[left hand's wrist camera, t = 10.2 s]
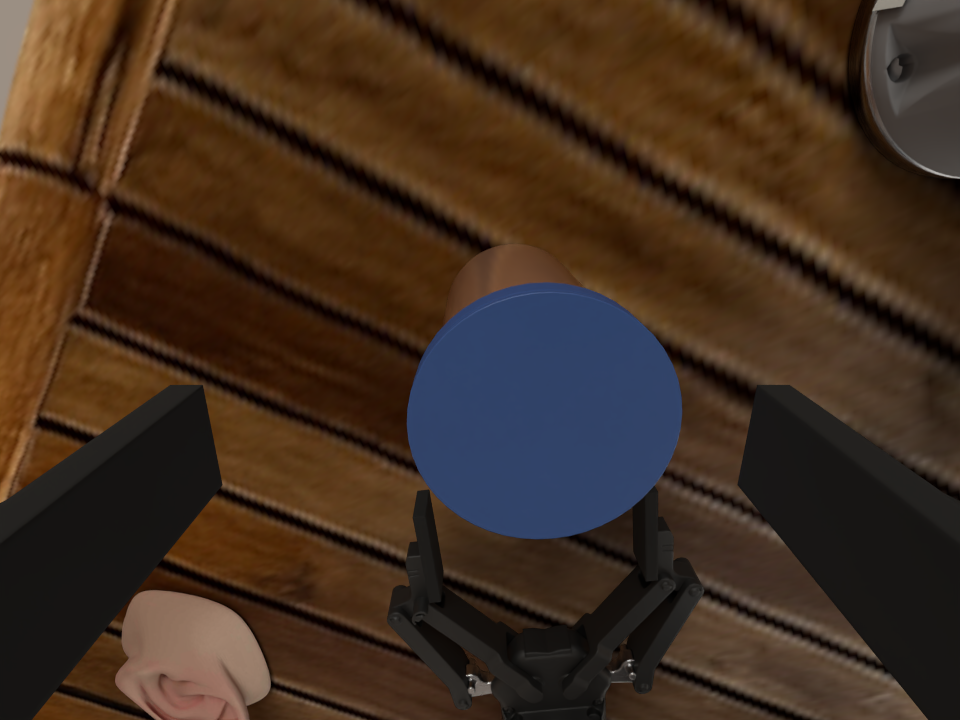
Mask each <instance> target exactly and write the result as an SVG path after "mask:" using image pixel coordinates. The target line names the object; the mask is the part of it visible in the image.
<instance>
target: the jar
mask: <svg viewBox="0 0 960 720" xmlns="http://www.w3.org/2000/svg"><path fill="white" fill-rule="evenodd" d="M544 282H550V283H562V284H569V285H574V286H578V287H583V286H582V285H581V283H580V282H579V281H578V280H577V279H576V278H575V277H574V276H573V275H572V274H571V273H570V271H569V270H568V269H567V268H566V267H565V266H564V265H563V264H562V263H561V262H560V261H559V260H558V259H557V258H555V257H554V256H552V255H551V254H549V253H548V252H546V251H544V250H542V249H539V248H536V247H533V246H529V245H523V244H506V245H501V246H496V247H493V248H490V249H488V250H486V251H484V252H481V253H480V254H478V255H477V256H475V257H474V258H472V259H471V260H470V261H469V262H468V263H467V264H466V265H465V266H464V267H463V268H462V269H461V270H460V272H459V273H458V275H457V276H456V278H455V280H454V282H453V284H452V286H451V289H450V292H449V295H448V300H447V305H446V310H445V315H444V320H443V325H442V327H443V326H444V325H445V324H446V323H447V322H448V321H449V320H450V319H451V318H452V317H454V316H455V315H456V314H457V313H458V312H460V311H461V310H462V309H463V308H465V307H467V306H468V305H470V304H471V303H473V302H474V301H476V300H478V299H480V298H482V297H484V296H486V295H488V294H491V293H493V292H495V291H499V290H502V289H505V288H508V287H511V286H517V285H522V284H528V283H544ZM583 288H584V287H583Z"/></svg>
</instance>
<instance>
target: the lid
mask: <svg viewBox="0 0 960 720" xmlns="http://www.w3.org/2000/svg"><path fill="white" fill-rule="evenodd" d="M681 419H682V399H681V392H680V387H679V382H678V378H677V375H676V373H675V370H674V367H673V364H672V362H671V361H670V359H669V357H668V355H667V353H666V351H665V350H664V348H663V347H662V346H661V344H660V343H659V342H658V340H657V339H656V338H655V336H654V335H653V334H652V333H651V332H650V331H649V330H648V329H647V328H646V327H645V326H644V325H643V324H642V323H641V322H639V321H638V320H637V319H636V318H635V317H634V316H633V315H632V314H631V313H630V312H629V311H627V310H626V309H625V308H623V307H622V306H620V305H619V304H618V303H616V302H615V301H613V300H611V299H609V298H607V297H605V296H603V295H601V294H599V293H597V292H594V291H591V290H588V289H586V288H583V287H578V286H574V285H569V284H562V283H550V282H544V283H528V284H522V285H517V286H511V287H508V288H505V289H502V290H499V291H495V292H493V293H491V294H488V295H486V296H484V297H482V298H480V299H478V300H476V301H474V302H473V303H471V304H470V305H468V306H467V307H465V308H463V309H462V310H461V311H460V312H458V313H457V314H456V315H455V316H454V317H452V318H451V319H450V320H449V321H448V322H447V323H446V324H445V325H444V326H443V327H442V328H441V329H440V331H439V332H438V333H437V334H436V336H435V337H434V338H433V340H432V341H431V343H430V344H429V346H428V347H427V349H426V351H425V353H424V355H423V357H422V359H421V361H420V364H419V367H418V369H417V372H416V375H415V379H414V382H413V386H412V389H411V393H410V398H409V404H408V411H407V430H408V440H409V444H410V448H411V452H412V456H413V458H414V461H415V463H416V465H417V468H418V470H419V472H420V474H421V475H422V477H423V479H424V481H425V482H426V484H427V485H428V486H429V488H430V489H431V490H432V492H433V493H434V494H435V495H436V497H437V498H439V499H440V500H441V501H442V502H443V503H444V504H445V505H446V506H447V507H448V508H449V509H451V510H452V511H453V512H455V513H456V514H457V515H459V516H460V517H462V518H463V519H465V520H467V521H469V522H470V523H472V524H474V525H476V526H478V527H481V528H483V529H486V530H488V531H491V532H494V533H498V534H501V535H505V536H510V537H516V538H525V539H553V538H560V537H566V536H572V535H575V534H579V533H583V532H586V531H589V530H592V529H594V528H597V527H599V526H602V525H604V524H606V523H608V522H610V521H611V520H613V519H615V518H617V517H618V516H620V515H621V514H623V513H624V512H626V511H627V510H629V509H630V508H631V507H633V506H634V505H635V504H636V503H637V502H639V501H640V500H641V499H642V498H643V497H644V496H645V495H646V494H647V493H648V492H649V491H650V490H651V489H652V488H653V486H654V485H655V484H656V482H657V481H658V480H659V478H660V477H661V475H662V474H663V473H664V471H665V469H666V467H667V465H668V463H669V462H670V460H671V458H672V455H673V452H674V450H675V447H676V445H677V441H678V437H679V433H680V429H681Z"/></svg>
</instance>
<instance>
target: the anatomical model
mask: <svg viewBox="0 0 960 720" xmlns="http://www.w3.org/2000/svg"><path fill="white" fill-rule="evenodd" d="M122 646H123V649H124V652H125V653H126V655H127V656H128V657H129V659H128V661H127V662H126V663H125V664H124V665H123V666H122V667H121V668H120V670H119V671H118V673H117V675H116V678H115V682H116V685H117V686H118V688H119V689H120V690H121V691H122V692H123V693H124V694H126V695H127V696H128V697H129V698H130V699H132V700H133V701H134V702H135V703H136V704H138V705H139V706H140V707H141V708H142V709H144V710H145V711H146V712H147V713H148V714H150V715H151V716H152V717H153V718H155V719H156V720H249V714H248V709H247V705H250V704H253V703H255V702H257V701H259V700H261V699H262V698H264V697H265V696H266V695H267V694H268V692H269V690H270V686H271V680H270V675H269V670H268V667H267V664H266V661H265V659H264V656H263V654H262V651H261V649H260V647H259V645H258V643H257V641H256V639H255V637H254V635H253V633H252V632H251V630H250V629H249V627H248V626H247V624H246V623H245V622H244V621H243V619H242V618H241V617H240V616H239V615H237V614H236V613H235V612H234V611H232V610H231V609H229V608H228V607H226V606H224V605H222V604H219V603H217V602H214V601H211V600H209V599H205V598H202V597H198V596H194V595H189V594H184V593H178V592H171V591H160V590H150V591H144V592H141V593H139V594H137V595H136V596H135V597H134V598H133V600H132V601H131V603H130V605H129V607H128V610H127V613H126V616H125V619H124V623H123V629H122Z"/></svg>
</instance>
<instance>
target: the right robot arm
mask: <svg viewBox="0 0 960 720" xmlns="http://www.w3.org/2000/svg"><path fill="white" fill-rule="evenodd" d="M413 521H414V526H415V532H416V537H417V542H410V544H409V548H408V553H407V559H406V568H407V573H408V578H409V583H410V586H408V587H406V586H403V585H399V586H396V587H395V588H394V589H393V592H392V597H391V602H390V607H389V612H388V617H387V622H388V624H389V625H390V626H391V627H392V628H393V629H394V630H395V631H396V633H397V634H398V635H399V636H400V637H401V638H402V639H403V640H404V641H405V642H406V643H407V644H408V645H409V646H410V647H411V649H412V650H413V651H414V652H415V653H416V654H417V655H418V656H419V657H420V658H421V659H422V660H423V661H424V662H425V663H426V664H427V666H428V667H429V668H430V669H431V670H432V671H433V672H434V673H435V674H436V675H437V676H438V677H439V678H440V679H441V680H442V681H443V683H444V684H445V685H446V686H447V687H448V688H449V690H450V693H451V696H452V698H453V701H454V704H455V706H456V707H457V708H458V709H461V710H466V709H469V708H470V707H471V705H472V697H473V696H479V695H485V694H490V693H492V694H493V695H494V697H495V698H496V699H497V700H498V701H499V702H500V704H501V711H502V718H503V720H606V705H605V694H606V691H607V690H608V688H609V687H610V685H611V683H618V682H632V683H633V686H634V689H635V691H636V692H637V693H640V694H645V693H648V692H649V691H650V690H651V689H652V684H653V677H654V671H655V668H656V667H657V665H658V664H659V662H660V660H661V659H662V657H663V656H664V654H665V653H666V651H667V650H668V648H669V646H670V645H671V643H672V642H673V640H674V639H675V637H676V636H677V634H678V632H679V631H680V629H681V628H682V626H683V625H684V623H685V622H686V620H687V618H688V617H689V615H690V614H691V612H692V611H693V609H694V608H695V606H696V604H697V603H698V601H699V600H700V598H701V597H702V595H703V593H704V588H703V586H702V584H701V582H700V581H699V579H698V577H697V575H696V573H695V571H694V570H693V568H692V566H691V564H690V562H689V561H688V559H686V558H677V559H676V560H673V535H672V533H671V531H670V530H669V528H668V526H667V524H666V522H665V520H664V518H663V517H658V491H657V489H656V488H655V486H653V488H652V489H651V490H650V491H649V492H648V493H647V494H646V495H645V496H644V497H643V498H642V499H641V500H640V501H639V502H637V503H636V504H635V505H634V506H633V551H634V554H635V557H636V559H637V561H638V566H637V567H636V568H635V569H634V570H633V571H632V572H631V573H630V574H629V575H628V576H627V577H626V578H625V579H624V580H623V581H622V582H621V583H620V585H619V586H618V587H617V588H616V589H615V590H614V591H613V592H612V593H611V594H610V595H609V596H608V597H607V598H606V599H605V600H604V601H603V602H602V604H601V605H600V606H599V607H598V608H597V609H596V610H595V611H594V612H593V613H592V614H588V613H586V614H584V615H583V616H582V618H581V619H580V620H579V621H578V622H577V623H576V624H575V625H574V626H573V627H572V628H571V629H569V628H567V625H559V626H554V627H550V628H547V629H538V628H528V629H523V633H520V634H518V633H517V632H515V631H514V630H512V629H511V628H510V627H508V626H507V625H505V624H504V623H503V622H498V623H495V622H494V621H492V620H491V619H489V618H488V617H487V616H485V615H484V614H482V613H481V612H480V611H478V610H477V609H475V608H474V607H473V606H471V605H470V604H468V603H467V602H466V601H464V600H463V599H461V598H460V597H459V596H457V595H456V594H454V593H453V592H452V591H450V590H449V589H447V588H446V587H445V586H443V585H442V584H443V565H442V560H441V554H440V548H439V543H438V537H437V531H436V526H435V520H434V514H433V509H432V503H431V497H430V492H429V490H421V491H417V497H416V502H415V508H414V514H413ZM629 634H630V635H629ZM628 635H629V637H628V640H627V645H626V644H622V645H621V646H620V651H621V652H620V653H619V654H618V656H617V658H616V659H614V660H612V661H611V659H612V653H613V651H614V650H615V649H616V648H617V647H618V646H619V645H620V644H621V643H622V642H623V640H624V639H625V638H626V637H627V636H628ZM460 646H461V647H463V648H464V649H466V650H467V651H469V652H470V653H472V654H473V655H475V656H476V657H477V658H479V659H480V660H482V661H483V662H485V663H486V665H487V667H488V669H489V671H490V672H484V671H482V670H481V669H480V668H479V667H478V666H477V665H475V660H474V659H473V658H470V659H468V658H467V656H466V654H465V652H464V650H463V649H462V648H461V647H460Z"/></svg>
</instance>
